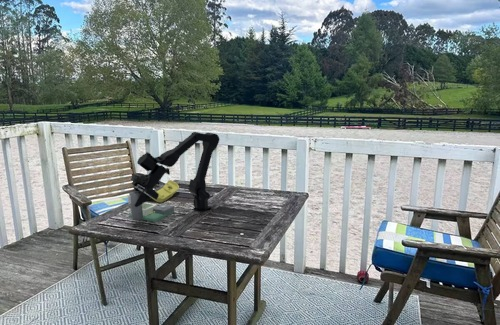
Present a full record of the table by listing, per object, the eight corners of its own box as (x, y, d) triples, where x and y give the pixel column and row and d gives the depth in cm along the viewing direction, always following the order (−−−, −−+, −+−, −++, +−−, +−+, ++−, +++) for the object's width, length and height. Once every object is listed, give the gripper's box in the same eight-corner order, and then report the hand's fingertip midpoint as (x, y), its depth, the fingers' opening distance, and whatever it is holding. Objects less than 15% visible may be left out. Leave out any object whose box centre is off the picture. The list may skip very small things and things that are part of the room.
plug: (140, 215, 170) (138, 190, 167) (144, 218, 166) (142, 193, 163) (128, 218, 167) (126, 192, 164) (132, 221, 163) (130, 195, 160)
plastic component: (161, 199, 195) (147, 190, 197) (158, 210, 198) (143, 201, 200) (182, 186, 213) (168, 178, 215) (178, 196, 216) (165, 188, 218)
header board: (174, 212, 183) (173, 204, 182) (154, 222, 171) (154, 213, 170) (149, 207, 190) (148, 199, 189) (129, 216, 178) (128, 208, 177)
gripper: (133, 163, 171) (112, 190, 167) (149, 170, 156) (126, 200, 152) (151, 176, 177) (130, 203, 173) (168, 184, 163) (146, 214, 159)
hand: (133, 204), depth 164 cm, fingers closed on plug, 5 cm apart
